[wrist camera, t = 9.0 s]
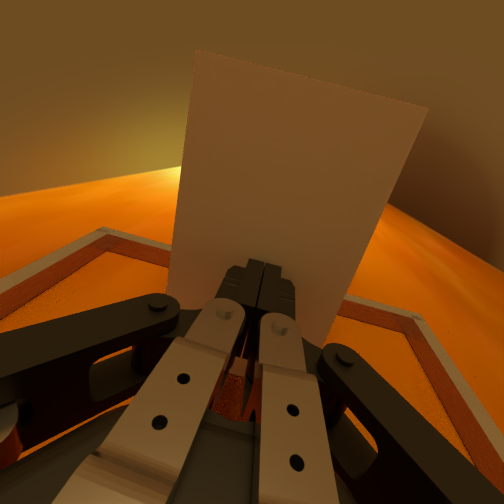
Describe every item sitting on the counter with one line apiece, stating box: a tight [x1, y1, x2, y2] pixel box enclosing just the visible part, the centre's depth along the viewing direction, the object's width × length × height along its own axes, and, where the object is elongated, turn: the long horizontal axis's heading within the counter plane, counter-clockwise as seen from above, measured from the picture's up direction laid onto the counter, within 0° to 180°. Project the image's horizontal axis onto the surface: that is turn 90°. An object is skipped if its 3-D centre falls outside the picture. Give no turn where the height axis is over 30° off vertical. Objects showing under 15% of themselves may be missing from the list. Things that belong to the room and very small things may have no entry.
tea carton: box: [166, 49, 429, 377], centre depth 16 cm, size 8×8×14 cm
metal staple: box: [0, 227, 504, 495], centre depth 17 cm, size 27×14×2 cm, turn 82°
